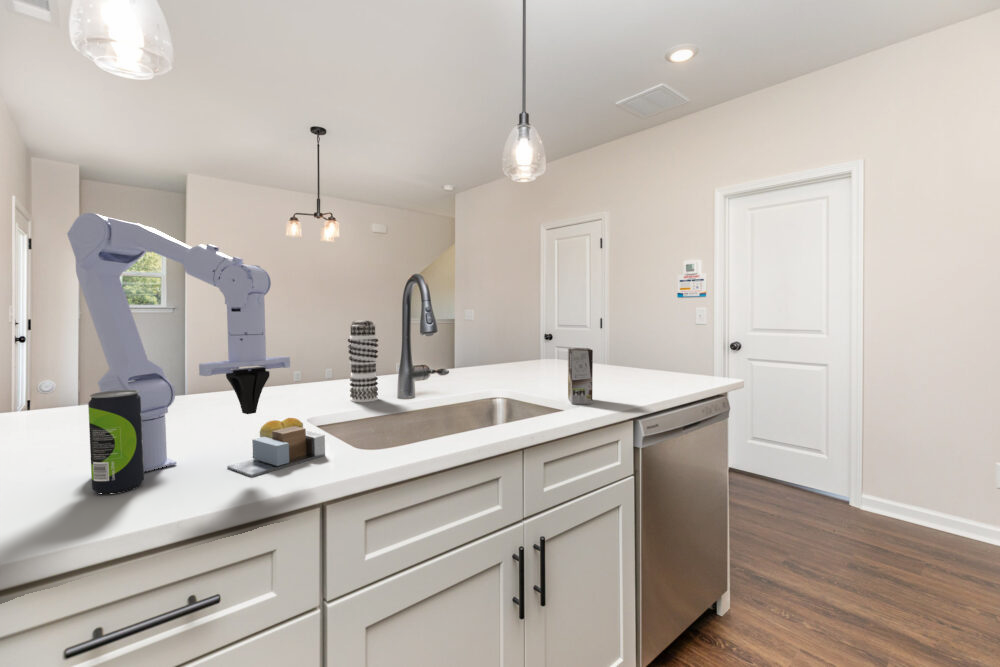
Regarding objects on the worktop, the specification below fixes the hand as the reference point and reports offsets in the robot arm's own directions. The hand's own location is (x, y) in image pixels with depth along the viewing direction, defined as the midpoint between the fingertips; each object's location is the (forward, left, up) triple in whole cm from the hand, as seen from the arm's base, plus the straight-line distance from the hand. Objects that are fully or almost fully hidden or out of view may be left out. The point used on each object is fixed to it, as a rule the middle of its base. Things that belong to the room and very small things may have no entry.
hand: (249, 412), depth 80 cm
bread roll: (+16, +17, -10) cm, 25 cm away
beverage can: (-16, +9, -10) cm, 21 cm away
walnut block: (+7, 0, -10) cm, 12 cm away
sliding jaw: (+4, 0, -10) cm, 11 cm away
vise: (+5, 0, -10) cm, 11 cm away
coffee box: (+88, -22, -10) cm, 91 cm away
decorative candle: (+55, +37, -10) cm, 67 cm away
